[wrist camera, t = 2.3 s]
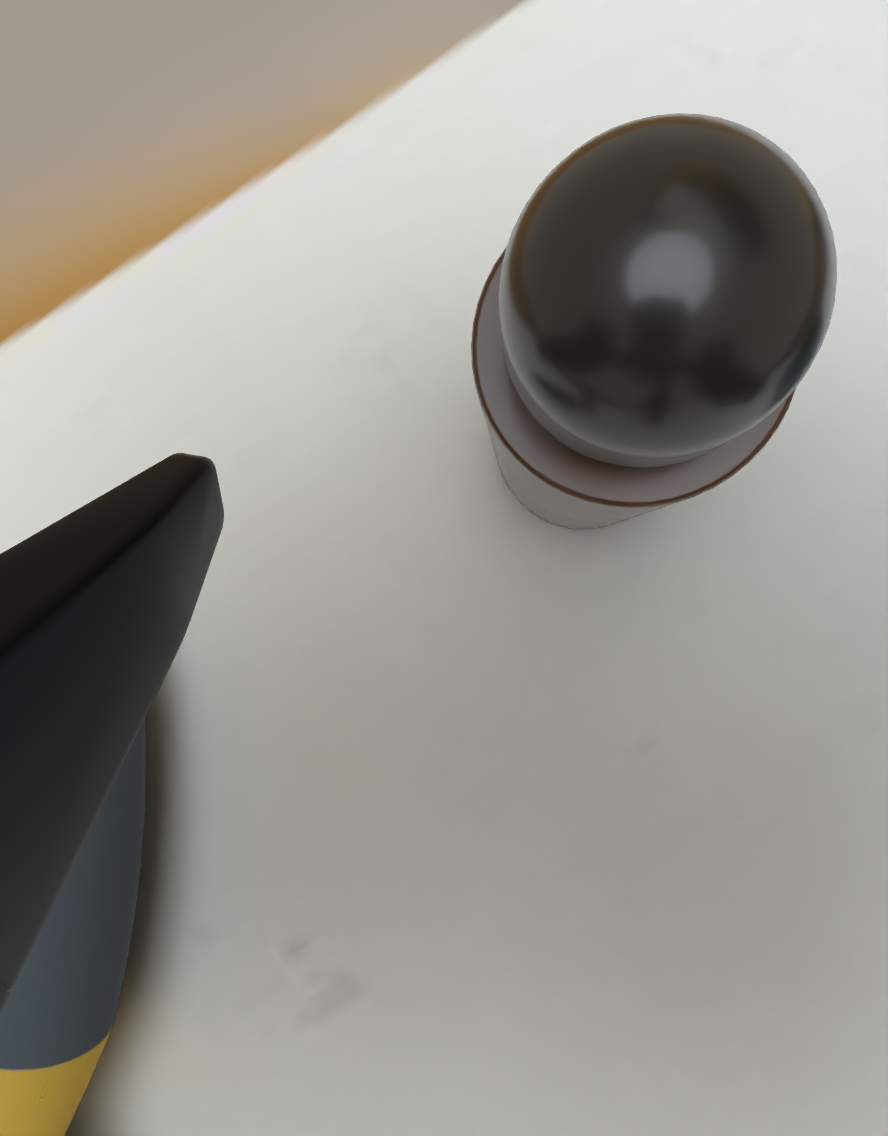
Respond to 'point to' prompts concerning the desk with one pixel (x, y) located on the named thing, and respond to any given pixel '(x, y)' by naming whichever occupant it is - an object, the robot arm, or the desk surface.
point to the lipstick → (651, 317)
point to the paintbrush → (75, 968)
